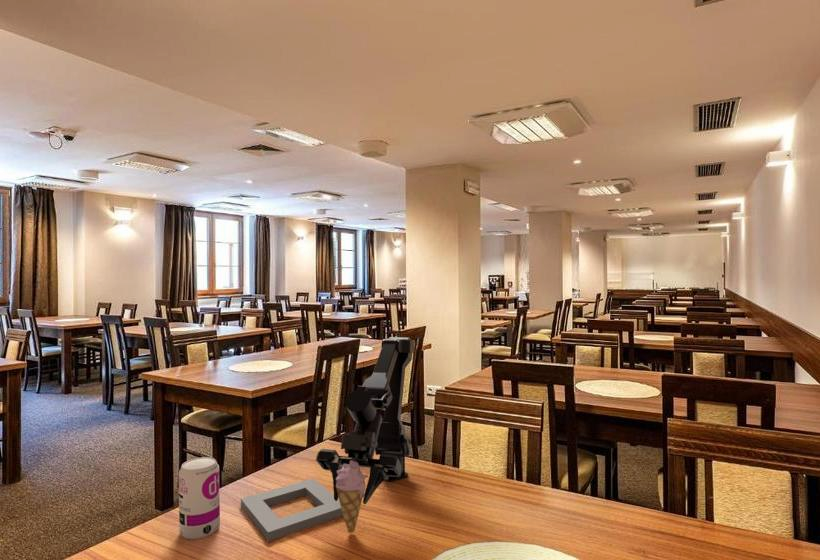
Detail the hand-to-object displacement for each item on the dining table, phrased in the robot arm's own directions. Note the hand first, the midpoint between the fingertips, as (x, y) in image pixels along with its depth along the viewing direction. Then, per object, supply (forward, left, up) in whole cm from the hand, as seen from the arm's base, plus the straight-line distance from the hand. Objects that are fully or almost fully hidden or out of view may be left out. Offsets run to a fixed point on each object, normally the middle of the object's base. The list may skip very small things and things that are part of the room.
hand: (349, 502), depth 102 cm
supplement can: (+25, -23, -8) cm, 35 cm away
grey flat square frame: (+5, -19, -8) cm, 21 cm away
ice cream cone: (-1, -1, -7) cm, 7 cm away
